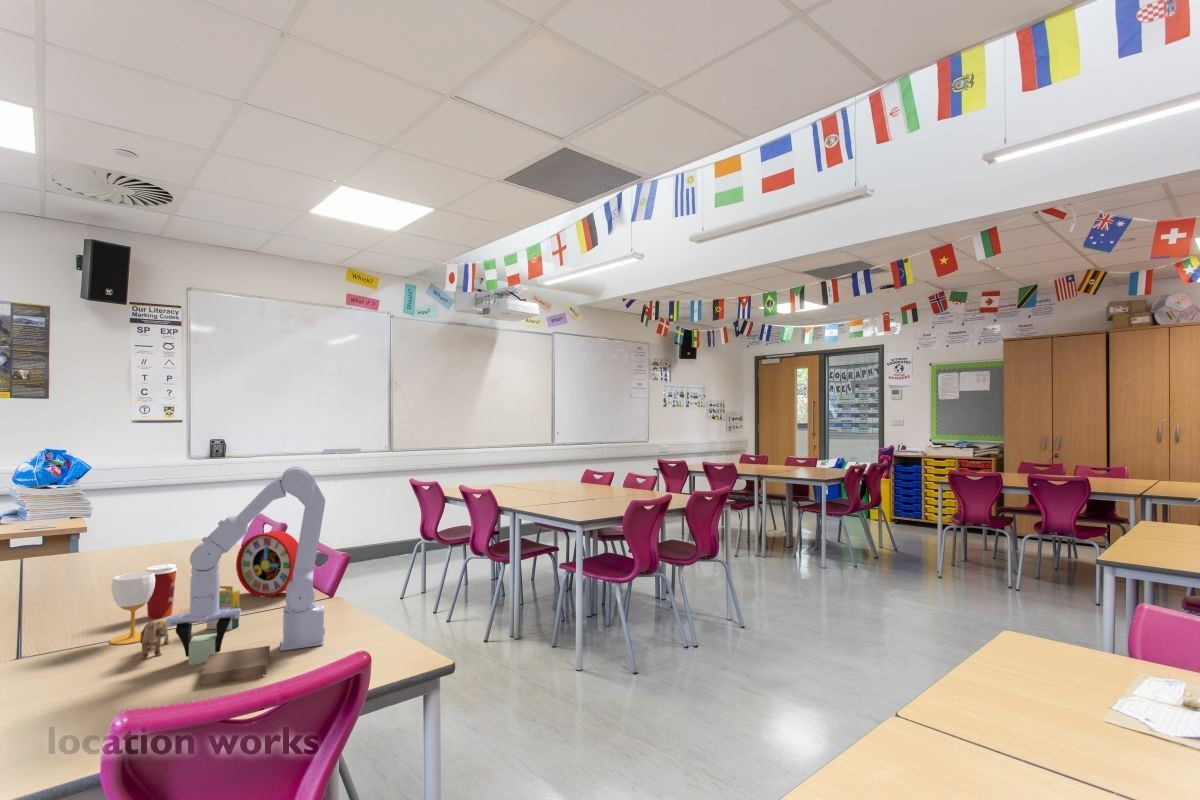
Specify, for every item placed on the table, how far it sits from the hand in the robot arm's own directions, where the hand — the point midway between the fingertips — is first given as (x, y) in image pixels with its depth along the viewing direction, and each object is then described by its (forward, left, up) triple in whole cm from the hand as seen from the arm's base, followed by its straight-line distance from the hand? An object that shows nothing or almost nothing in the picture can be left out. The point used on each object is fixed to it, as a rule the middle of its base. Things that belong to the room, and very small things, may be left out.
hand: (203, 653), depth 138 cm
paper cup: (+17, -43, -2) cm, 46 cm away
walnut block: (-8, +11, -2) cm, 14 cm away
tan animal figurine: (+11, -10, -2) cm, 15 cm away
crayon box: (-1, -23, -2) cm, 23 cm away
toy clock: (-10, -53, -2) cm, 54 cm away
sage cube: (0, 0, -2) cm, 2 cm away
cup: (+19, -24, -2) cm, 31 cm away
